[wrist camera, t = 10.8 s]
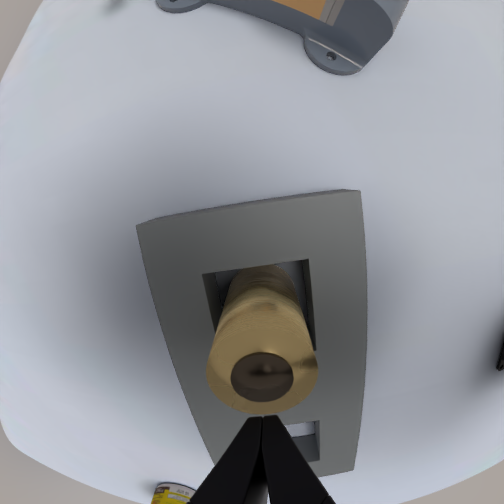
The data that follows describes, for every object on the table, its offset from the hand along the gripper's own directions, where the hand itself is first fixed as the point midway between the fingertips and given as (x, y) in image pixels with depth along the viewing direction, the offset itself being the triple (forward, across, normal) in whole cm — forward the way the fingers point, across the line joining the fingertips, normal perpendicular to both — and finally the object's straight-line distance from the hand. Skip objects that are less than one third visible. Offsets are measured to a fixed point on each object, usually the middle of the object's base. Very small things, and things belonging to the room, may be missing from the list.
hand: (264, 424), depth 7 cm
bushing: (+10, 0, 0) cm, 10 cm away
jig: (+10, 0, +6) cm, 12 cm away
